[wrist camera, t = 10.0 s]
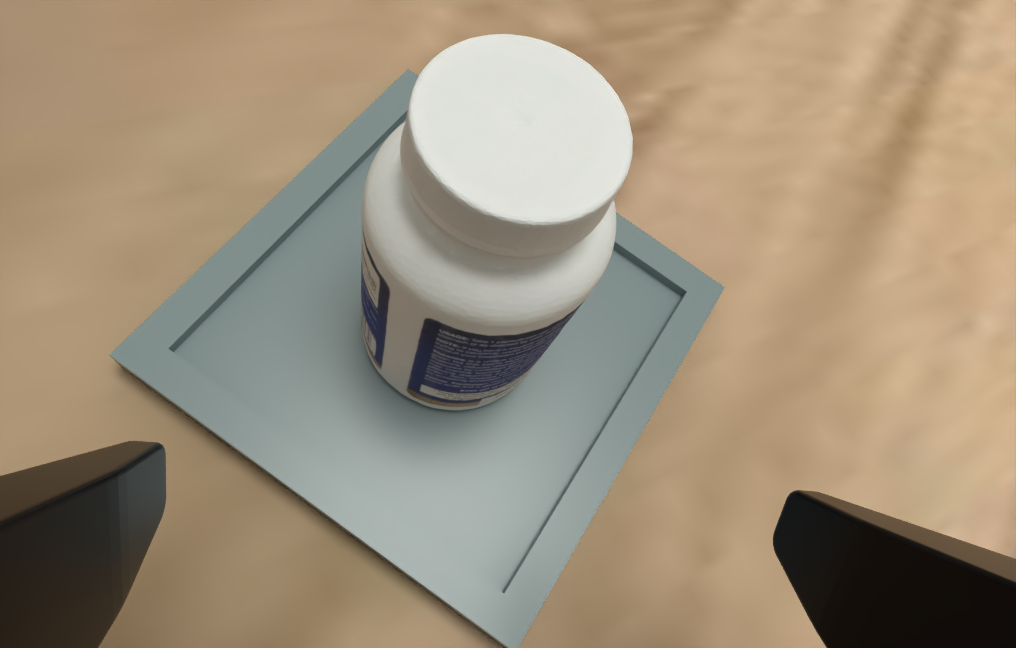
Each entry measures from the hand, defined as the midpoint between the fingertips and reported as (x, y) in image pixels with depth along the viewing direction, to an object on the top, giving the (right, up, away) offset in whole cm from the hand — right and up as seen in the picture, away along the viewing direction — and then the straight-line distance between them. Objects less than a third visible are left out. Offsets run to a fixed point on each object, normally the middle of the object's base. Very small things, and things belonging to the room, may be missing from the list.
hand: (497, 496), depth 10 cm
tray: (-2, +2, +11) cm, 12 cm away
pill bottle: (-2, +2, +11) cm, 11 cm away
